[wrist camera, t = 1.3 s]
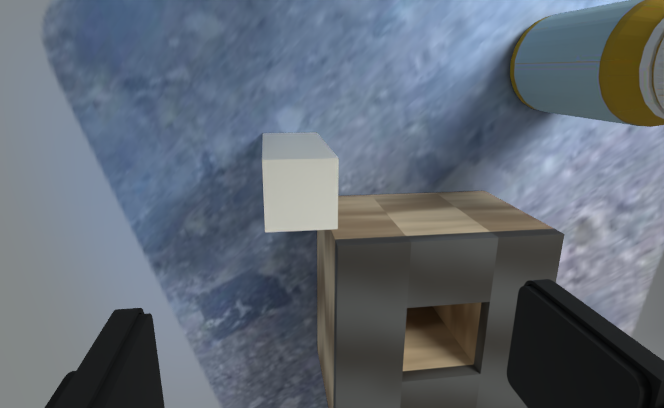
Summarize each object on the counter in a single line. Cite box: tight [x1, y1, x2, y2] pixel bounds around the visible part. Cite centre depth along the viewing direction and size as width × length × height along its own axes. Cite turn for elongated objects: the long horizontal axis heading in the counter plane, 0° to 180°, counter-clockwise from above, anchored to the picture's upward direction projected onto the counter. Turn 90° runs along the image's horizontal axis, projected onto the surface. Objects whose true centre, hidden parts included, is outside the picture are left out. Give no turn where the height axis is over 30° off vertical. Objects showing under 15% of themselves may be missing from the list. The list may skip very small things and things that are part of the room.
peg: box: [262, 132, 339, 232], centre depth 28 cm, size 4×4×10 cm
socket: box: [317, 191, 564, 408], centre depth 32 cm, size 14×14×10 cm
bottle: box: [510, 0, 664, 127], centre depth 26 cm, size 7×7×15 cm
